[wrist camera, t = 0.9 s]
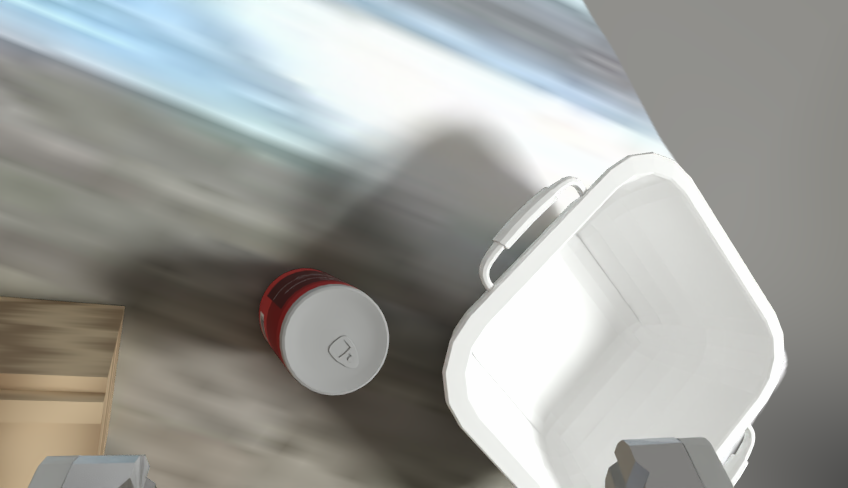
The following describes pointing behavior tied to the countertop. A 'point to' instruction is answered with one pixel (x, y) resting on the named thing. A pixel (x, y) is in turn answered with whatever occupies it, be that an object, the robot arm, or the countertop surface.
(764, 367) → the baking dish
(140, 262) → the countertop surface
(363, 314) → the canned food
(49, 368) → the tan wooden tall block
